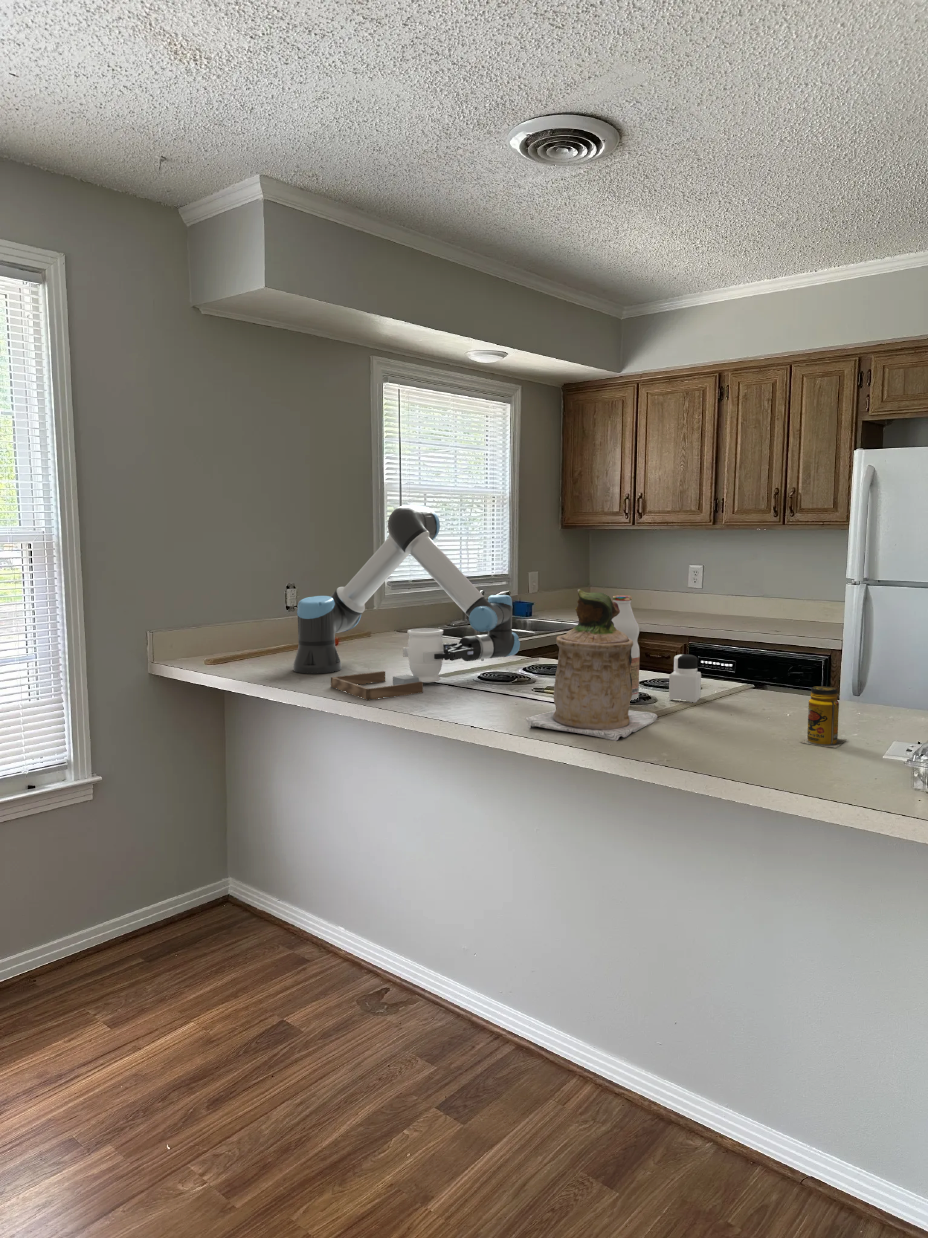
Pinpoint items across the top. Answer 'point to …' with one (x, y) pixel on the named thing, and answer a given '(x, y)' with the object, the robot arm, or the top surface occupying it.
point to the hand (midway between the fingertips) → (413, 654)
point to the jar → (421, 643)
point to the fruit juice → (629, 636)
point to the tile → (404, 679)
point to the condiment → (823, 718)
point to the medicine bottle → (685, 679)
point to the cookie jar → (594, 676)
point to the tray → (351, 681)
